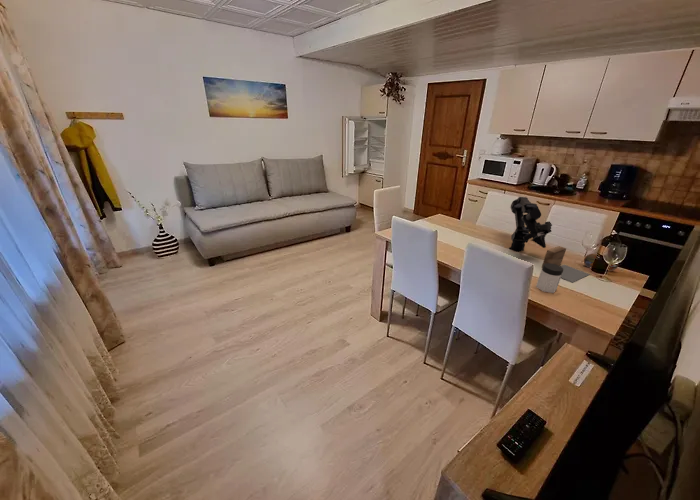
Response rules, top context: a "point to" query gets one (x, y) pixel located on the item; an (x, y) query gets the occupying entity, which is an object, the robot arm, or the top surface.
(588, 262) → the tin
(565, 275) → the mat
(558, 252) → the block
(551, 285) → the jar
